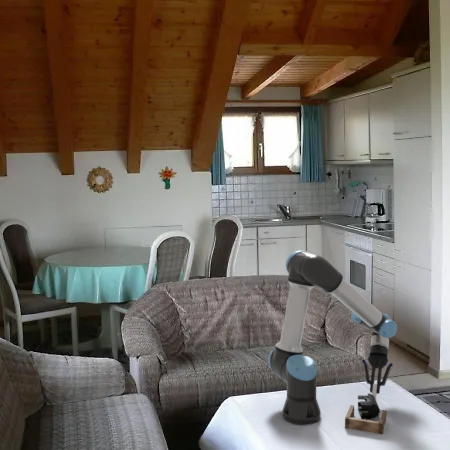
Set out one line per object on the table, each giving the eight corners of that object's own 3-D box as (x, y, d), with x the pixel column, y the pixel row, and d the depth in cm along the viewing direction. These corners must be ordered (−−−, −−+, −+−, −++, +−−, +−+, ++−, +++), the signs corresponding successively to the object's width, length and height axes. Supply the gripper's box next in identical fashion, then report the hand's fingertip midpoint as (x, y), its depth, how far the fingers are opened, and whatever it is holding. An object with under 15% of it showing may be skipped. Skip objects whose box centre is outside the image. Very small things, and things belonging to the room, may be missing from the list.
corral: (344, 428, 219) (345, 418, 219) (350, 414, 230) (350, 405, 230) (382, 434, 214) (382, 424, 214) (386, 420, 225) (386, 410, 225)
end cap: (379, 420, 225) (380, 403, 224) (361, 420, 226) (361, 403, 225) (375, 408, 235) (375, 393, 234) (357, 408, 235) (357, 392, 235)
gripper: (395, 353, 249) (390, 406, 236) (364, 349, 254) (358, 401, 241) (394, 345, 244) (389, 399, 231) (363, 342, 248) (356, 394, 235)
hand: (373, 400), depth 236 cm, fingers closed
